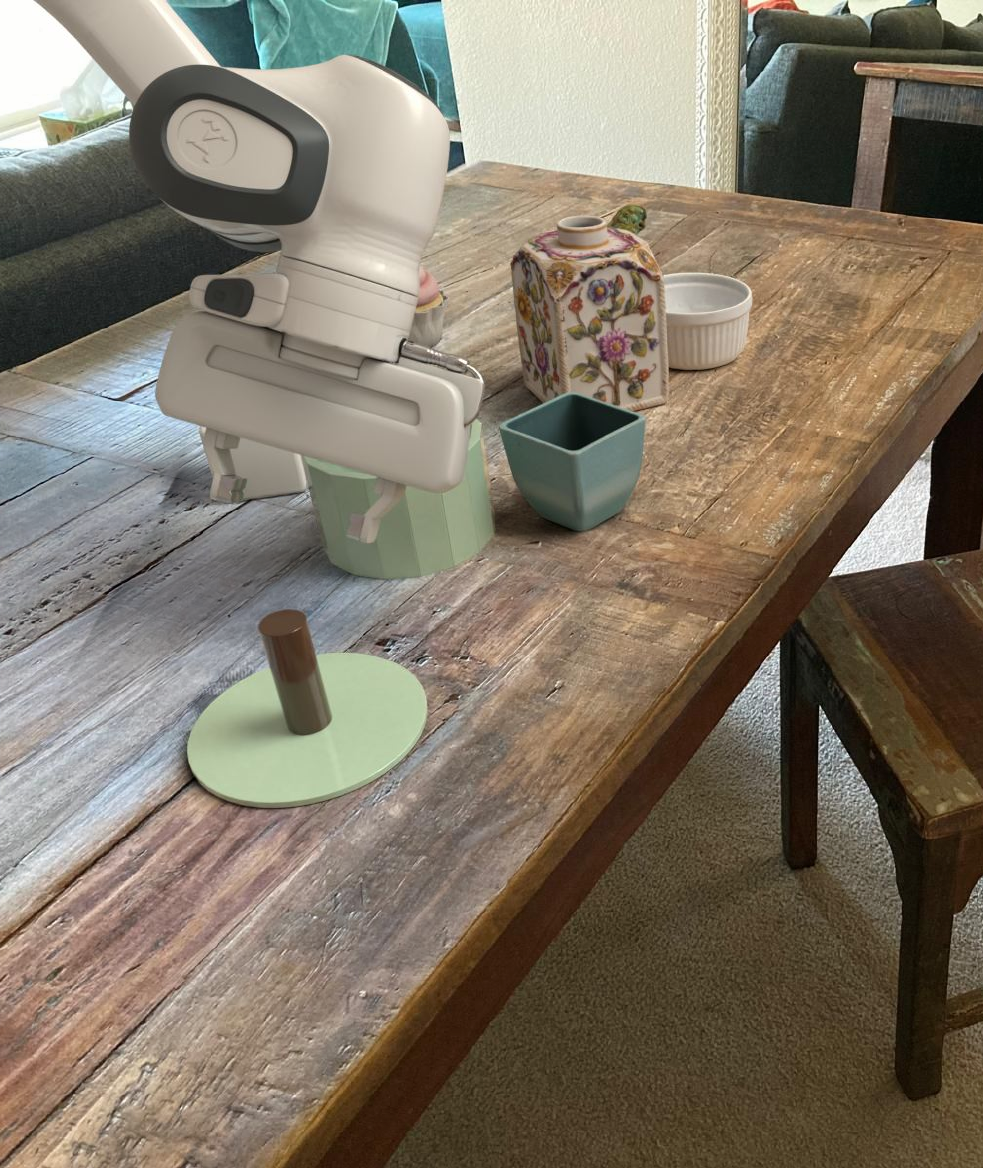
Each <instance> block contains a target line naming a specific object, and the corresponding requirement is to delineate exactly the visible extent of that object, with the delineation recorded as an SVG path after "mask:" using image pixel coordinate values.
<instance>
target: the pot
mask: <svg viewBox="0 0 983 1168" xmlns="http://www.w3.org/2000/svg"><path fill="white" fill-rule="evenodd" d="M300 456H301V460H302V464H303V468H304V472H305V476H306V485H307V488H308V493H309V496H310V500H311V503H312V508H313V513H314V517H315V520H316V525H317V529H318V533H319V537H320V540H321V545H322V548H323V551H324V552H325V554H326V556H327V558H328V560H329V562H330V564H331V565H334V566H336V567H338V568H339V569H341V570H343V571H345V572H347V573H348V574H350V575H353V576H358V577H366V578H372V579H379V580H385V581H386V580H396V579H397V580H398V579H411V578H420V577H424V576H428V575H432V574H435V573H438V572H441V571H446V570H449V569H452V568H455V567H457V566H459V565H460V564H462V563H464V562H466V561H467V560H470V559H471V558H473V557H475V556H476V555H478V554H479V553H481V552H482V550H483V549H484V548H485V547H486V546H487V545H488V544H489V542H490V541H491V540H492V539H493V538H495V537H496V514H495V506H494V500H493V493H492V486H491V485H492V484H491V479H490V472H489V465H488V458H487V451H486V445H485V438H484V431H483V424H482V422H481V421H480V420H479V419H478V417H477V418H476V420H475V421H474V422H473V423H471V428H470V439H469V448H468V455H467V461H466V466H465V472H464V476H463V479H462V481H461V483H460V484H459V485H458V486H456V487H455V488H453V489H452V490H450V491H448V492H445V493H431V492H428V491H424V490H421V489H417V488H414V487H410V486H407V485H406V489H405V493H404V497H403V498H402V499H401V500H400V501H399V502H398V503H397V504H396V505H395V506H394V507H393V508H392V509H391V510H390V511H389V512H388V513H387V514H386V515H385V516H384V517H382V518H381V520H380V524H379V528H378V532H377V536H376V539H375V541H374V542H372V543H364V542H361V541H357V540H354V539H351V538H347V536H346V533H347V529H348V528H349V527H350V524H349V520H350V516H351V513H354V512H360V511H362V512H365V513H366V512H367V511H368V510H369V509H370V508H371V507H372V506H373V505H374V504H375V502H376V501H377V500H378V499H379V498H380V497H381V496H382V495H379V494H375V493H374V488H375V484H376V479H377V477H376V476H372V475H369V474H365V473H362V472H358V471H355V470H351V469H348V468H345V467H341V466H338V465H334V464H331V463H327V462H324V461H320V460H317V459H313V458H310V457H306V456H303V455H300Z"/></svg>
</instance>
